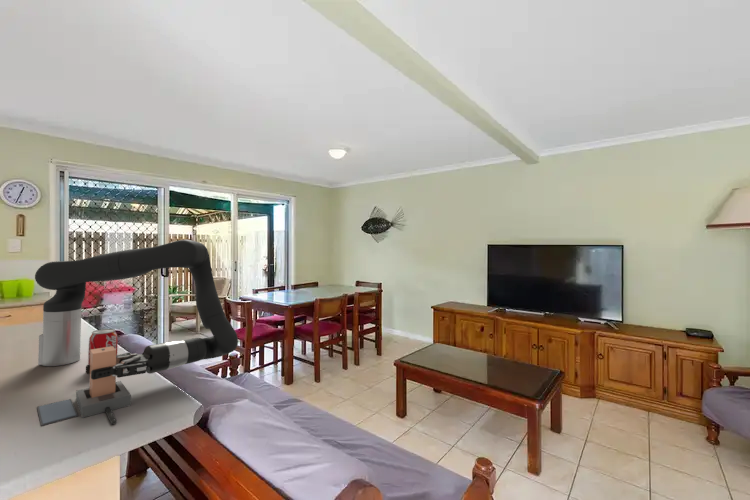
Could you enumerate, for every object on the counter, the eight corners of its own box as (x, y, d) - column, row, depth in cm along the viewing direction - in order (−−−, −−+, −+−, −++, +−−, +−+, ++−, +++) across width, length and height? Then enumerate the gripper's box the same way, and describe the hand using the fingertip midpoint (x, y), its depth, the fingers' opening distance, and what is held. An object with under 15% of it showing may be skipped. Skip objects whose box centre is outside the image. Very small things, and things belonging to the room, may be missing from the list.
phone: (36, 410, 80) (37, 406, 80) (70, 401, 84) (70, 398, 84) (41, 429, 72) (41, 424, 72) (78, 418, 76) (78, 414, 76)
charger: (89, 393, 84) (90, 349, 84) (112, 388, 87) (112, 345, 87) (92, 399, 81) (92, 353, 81) (115, 393, 84) (116, 349, 84)
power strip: (76, 400, 84) (76, 390, 84) (120, 390, 90) (120, 380, 90) (87, 432, 70) (87, 420, 70) (139, 417, 76) (139, 406, 76)
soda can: (100, 374, 101) (101, 334, 101) (81, 372, 102) (82, 332, 102) (122, 366, 108) (123, 329, 108) (104, 364, 109) (105, 327, 109)
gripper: (156, 338, 100) (81, 351, 86) (176, 347, 91) (96, 363, 77) (156, 363, 100) (81, 380, 86) (176, 375, 91) (96, 396, 77)
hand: (89, 372), depth 82 cm, fingers closed on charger, 4 cm apart
